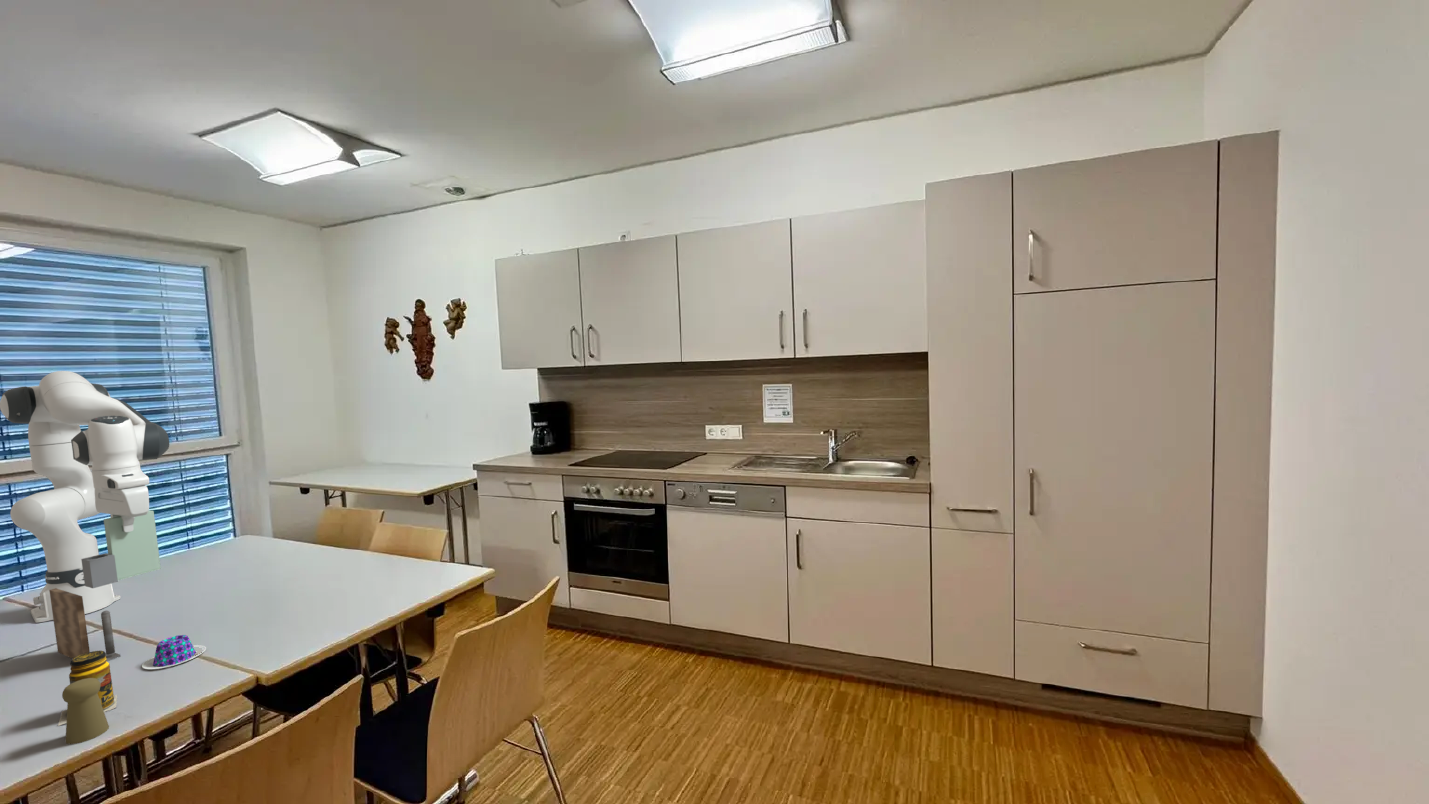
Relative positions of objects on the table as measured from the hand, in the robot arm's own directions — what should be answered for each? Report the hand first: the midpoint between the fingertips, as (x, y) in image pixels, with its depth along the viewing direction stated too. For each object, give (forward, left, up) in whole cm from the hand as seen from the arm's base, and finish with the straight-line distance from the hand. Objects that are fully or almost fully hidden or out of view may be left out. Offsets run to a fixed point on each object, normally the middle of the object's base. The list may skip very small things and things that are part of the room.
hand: (124, 530), depth 153 cm
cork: (+40, -22, -32) cm, 56 cm away
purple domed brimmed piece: (+17, +1, -32) cm, 37 cm away
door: (0, -1, -12) cm, 12 cm away
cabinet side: (-9, -7, -32) cm, 34 cm away
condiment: (+28, -18, -32) cm, 46 cm away
